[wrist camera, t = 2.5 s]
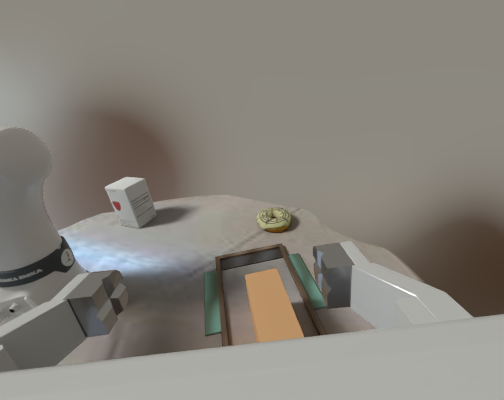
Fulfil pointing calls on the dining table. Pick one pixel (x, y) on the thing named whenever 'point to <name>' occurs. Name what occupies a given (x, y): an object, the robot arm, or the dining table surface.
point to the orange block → (271, 307)
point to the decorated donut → (274, 219)
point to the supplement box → (131, 201)
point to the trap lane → (213, 280)
